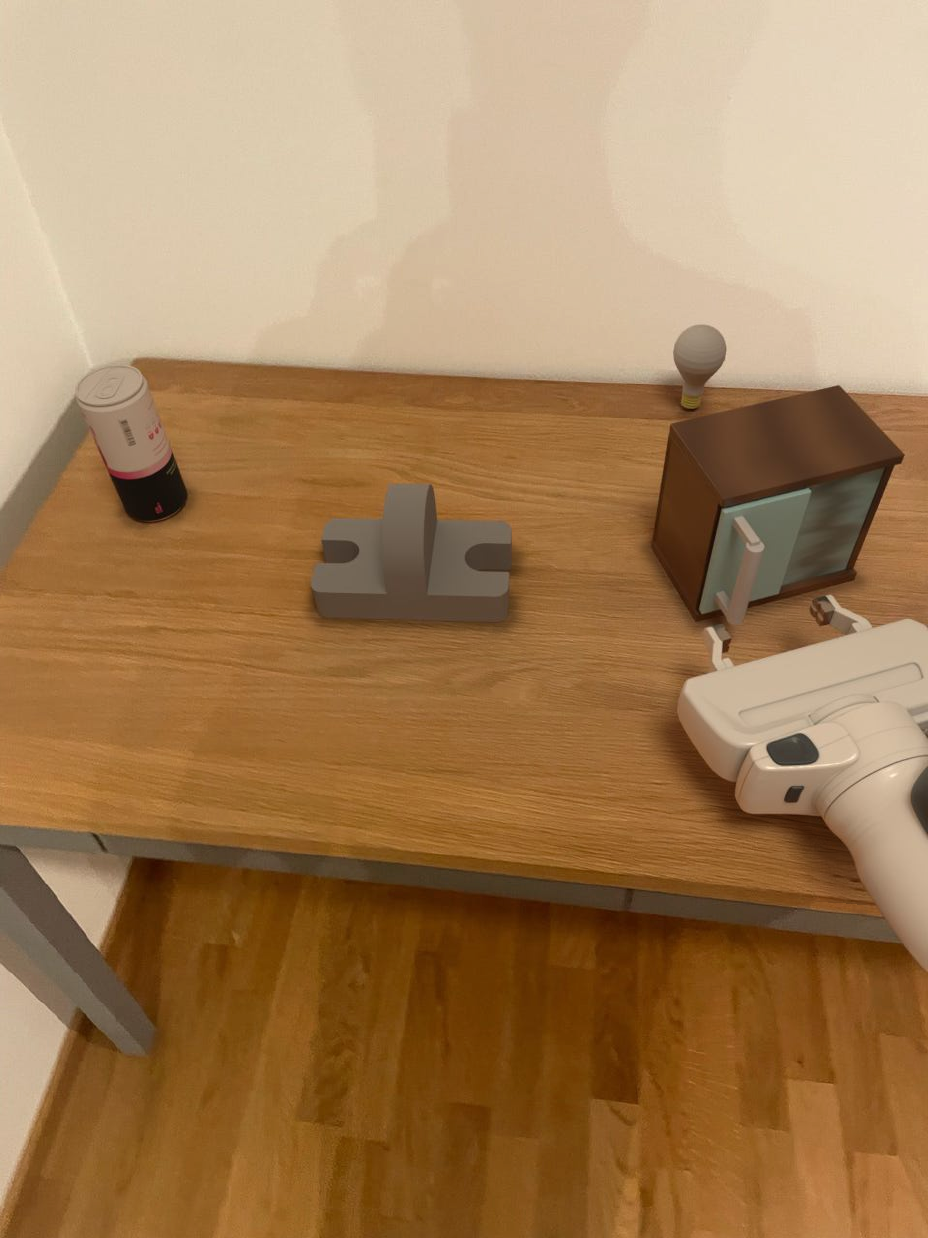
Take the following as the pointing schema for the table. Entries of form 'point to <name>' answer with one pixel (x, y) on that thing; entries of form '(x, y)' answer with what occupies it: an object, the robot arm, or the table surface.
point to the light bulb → (698, 360)
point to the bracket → (413, 564)
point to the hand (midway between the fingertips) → (765, 615)
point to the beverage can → (131, 441)
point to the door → (752, 552)
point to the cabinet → (773, 486)
